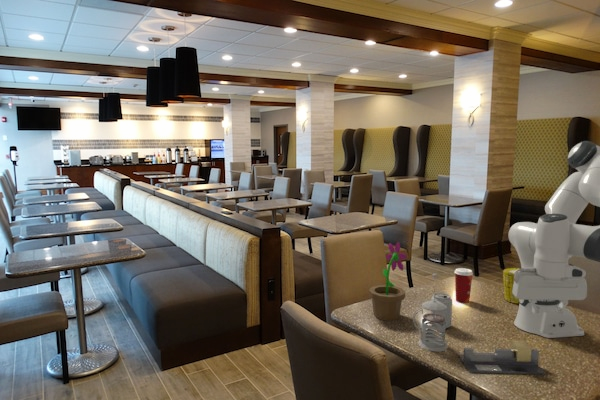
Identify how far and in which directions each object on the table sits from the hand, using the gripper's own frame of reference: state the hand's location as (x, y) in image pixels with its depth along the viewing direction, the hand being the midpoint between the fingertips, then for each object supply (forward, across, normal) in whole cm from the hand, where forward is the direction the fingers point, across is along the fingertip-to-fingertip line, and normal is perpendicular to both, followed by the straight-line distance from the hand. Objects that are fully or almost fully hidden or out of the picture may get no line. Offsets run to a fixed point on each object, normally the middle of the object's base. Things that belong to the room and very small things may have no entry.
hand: (547, 312), depth 125 cm
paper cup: (+17, -6, +56) cm, 59 cm away
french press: (+17, -31, +13) cm, 38 cm away
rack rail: (+17, -13, 0) cm, 21 cm away
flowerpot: (+17, -42, +38) cm, 59 cm away
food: (+17, +17, +57) cm, 62 cm away
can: (+17, -23, +29) cm, 41 cm away
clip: (+14, -7, 0) cm, 16 cm away
